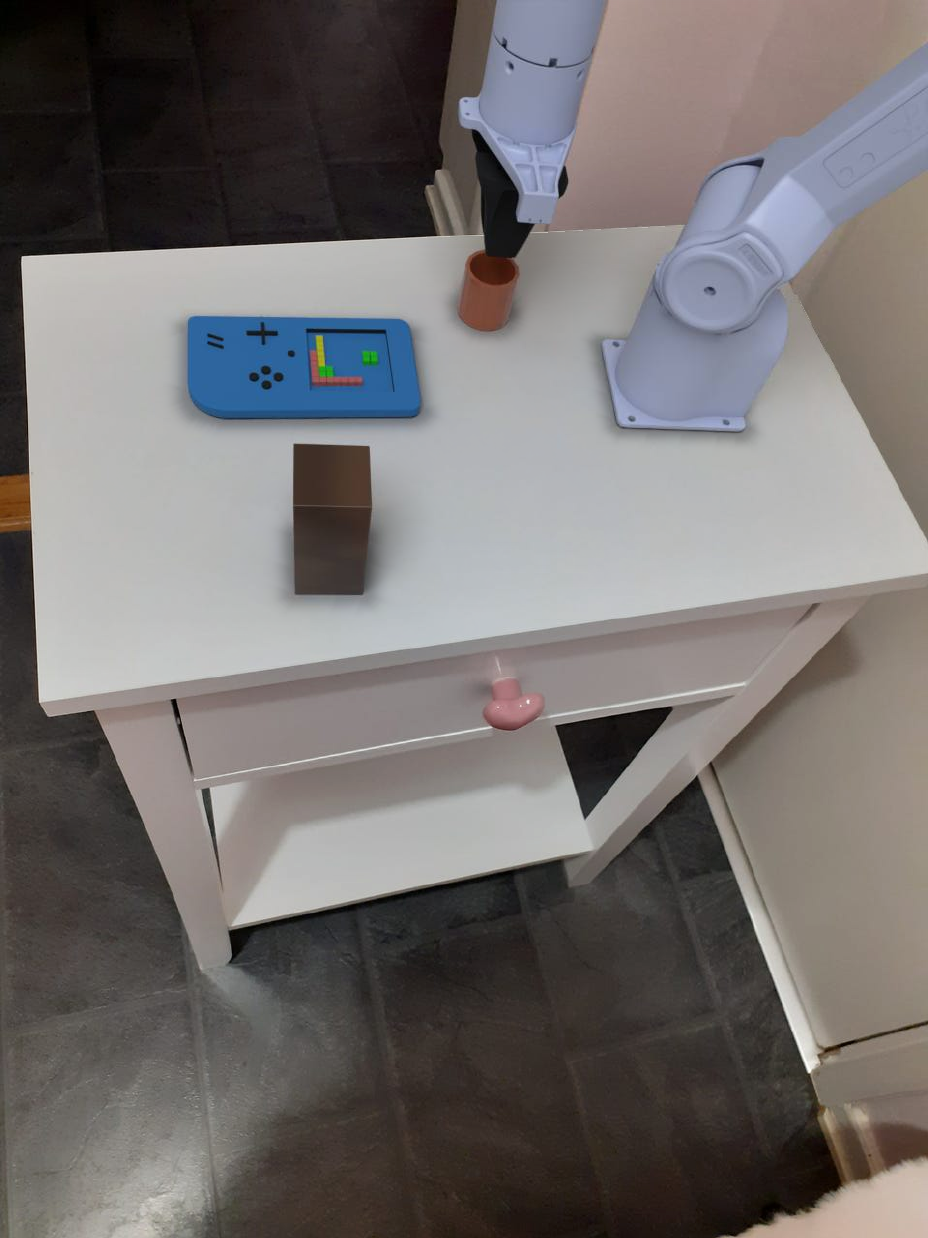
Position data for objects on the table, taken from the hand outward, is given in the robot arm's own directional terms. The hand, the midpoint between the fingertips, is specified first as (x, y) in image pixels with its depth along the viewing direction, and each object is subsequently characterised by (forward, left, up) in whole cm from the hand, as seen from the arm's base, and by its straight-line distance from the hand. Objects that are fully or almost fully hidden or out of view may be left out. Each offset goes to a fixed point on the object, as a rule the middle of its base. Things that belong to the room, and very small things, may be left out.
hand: (498, 242), depth 62 cm
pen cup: (0, 0, -6) cm, 6 cm away
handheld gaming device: (+13, +7, -6) cm, 16 cm away
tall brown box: (+12, +22, -6) cm, 26 cm away
